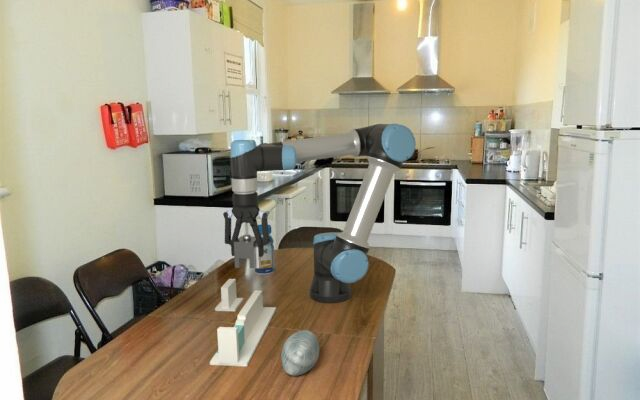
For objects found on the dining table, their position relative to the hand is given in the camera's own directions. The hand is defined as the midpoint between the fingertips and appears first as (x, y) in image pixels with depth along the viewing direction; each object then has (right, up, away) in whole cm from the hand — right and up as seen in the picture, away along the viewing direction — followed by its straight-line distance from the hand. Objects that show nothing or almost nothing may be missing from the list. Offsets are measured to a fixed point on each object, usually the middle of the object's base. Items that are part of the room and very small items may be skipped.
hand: (248, 266), depth 145 cm
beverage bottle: (-1, -10, +53) cm, 54 cm away
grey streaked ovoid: (+17, -23, -22) cm, 36 cm away
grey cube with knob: (0, +1, 0) cm, 1 cm away
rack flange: (0, -20, -3) cm, 20 cm away
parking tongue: (-9, -16, +18) cm, 26 cm away
